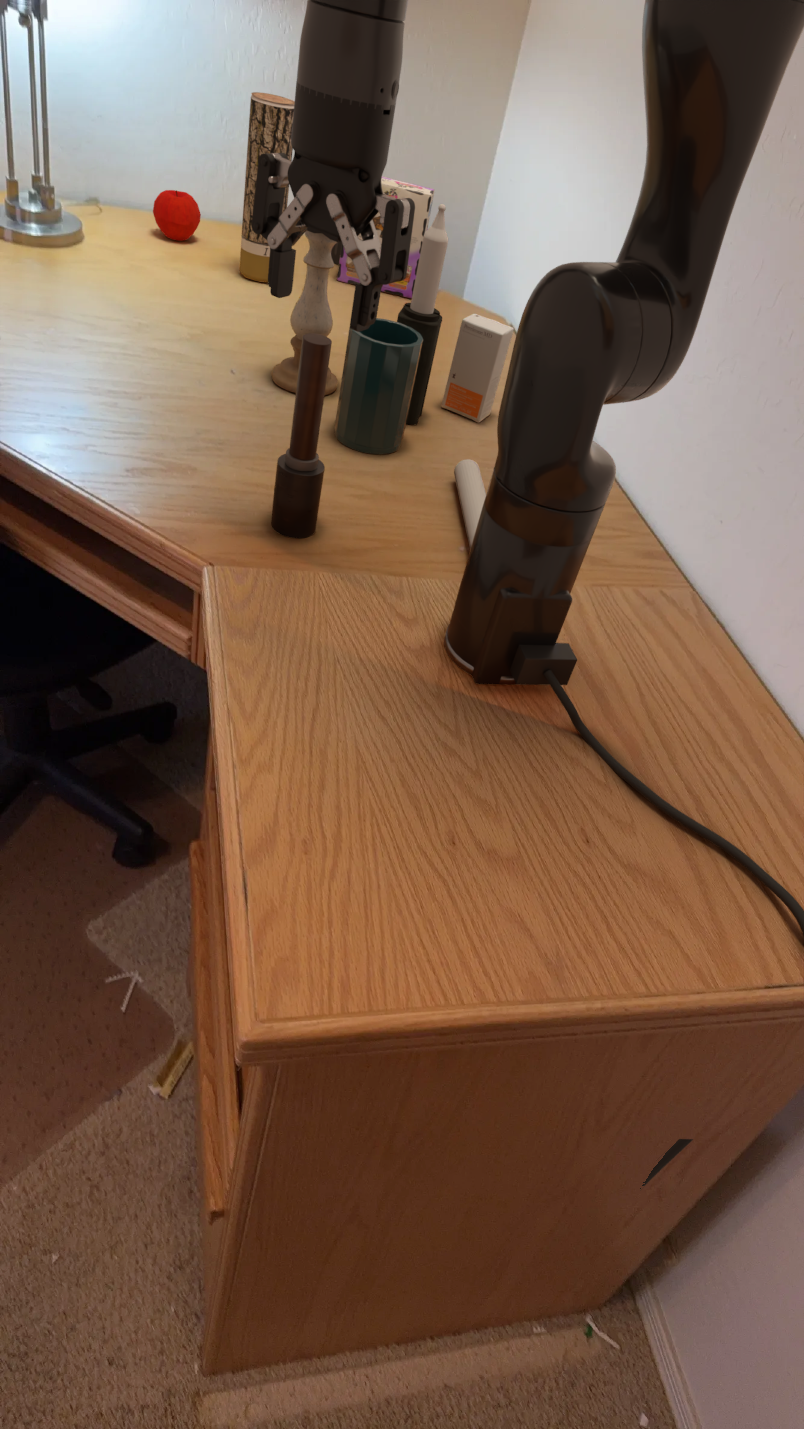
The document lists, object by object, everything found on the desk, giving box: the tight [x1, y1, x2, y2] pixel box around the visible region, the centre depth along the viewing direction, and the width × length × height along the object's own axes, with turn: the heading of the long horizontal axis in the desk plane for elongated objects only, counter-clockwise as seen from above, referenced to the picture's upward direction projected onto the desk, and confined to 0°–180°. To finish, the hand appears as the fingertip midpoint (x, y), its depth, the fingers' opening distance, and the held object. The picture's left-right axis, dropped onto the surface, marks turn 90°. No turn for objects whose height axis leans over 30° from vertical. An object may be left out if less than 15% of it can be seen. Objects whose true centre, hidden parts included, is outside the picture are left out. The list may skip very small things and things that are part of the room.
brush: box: [270, 333, 333, 539], centre depth 84 cm, size 5×5×19 cm
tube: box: [453, 458, 487, 550], centre depth 94 cm, size 3×3×25 cm
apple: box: [152, 189, 202, 242], centre depth 151 cm, size 8×8×7 cm
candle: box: [396, 203, 449, 426], centre depth 108 cm, size 5×5×25 cm
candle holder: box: [271, 231, 339, 396], centre depth 111 cm, size 9×9×20 cm
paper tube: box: [238, 91, 295, 283], centre depth 138 cm, size 7×7×25 cm
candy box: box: [336, 175, 435, 299], centre depth 150 cm, size 14×6×16 cm, turn 82°
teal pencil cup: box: [333, 317, 423, 455], centre depth 104 cm, size 8×8×13 cm
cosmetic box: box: [440, 312, 515, 423], centre depth 117 cm, size 6×4×12 cm
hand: (319, 312), depth 76 cm, fingers open, 8 cm apart
